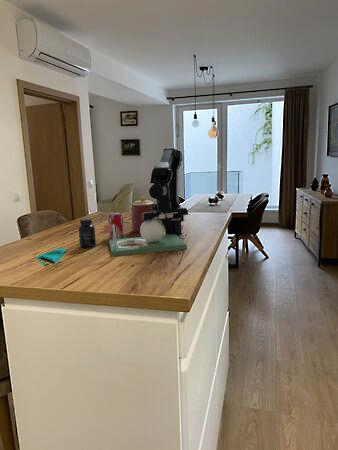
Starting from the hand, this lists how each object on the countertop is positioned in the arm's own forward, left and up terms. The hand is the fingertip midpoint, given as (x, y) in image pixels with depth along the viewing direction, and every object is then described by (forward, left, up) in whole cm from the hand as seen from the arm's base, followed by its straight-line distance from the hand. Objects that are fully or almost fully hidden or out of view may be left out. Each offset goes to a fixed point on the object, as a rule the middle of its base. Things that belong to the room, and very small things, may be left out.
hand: (167, 234), depth 141 cm
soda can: (+20, -21, -5) cm, 30 cm away
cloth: (+47, +1, -6) cm, 47 cm away
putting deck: (+9, -1, -5) cm, 10 cm away
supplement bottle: (+33, -10, -5) cm, 35 cm away
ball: (+6, -1, +2) cm, 6 cm away
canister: (+5, -34, -5) cm, 35 cm away
